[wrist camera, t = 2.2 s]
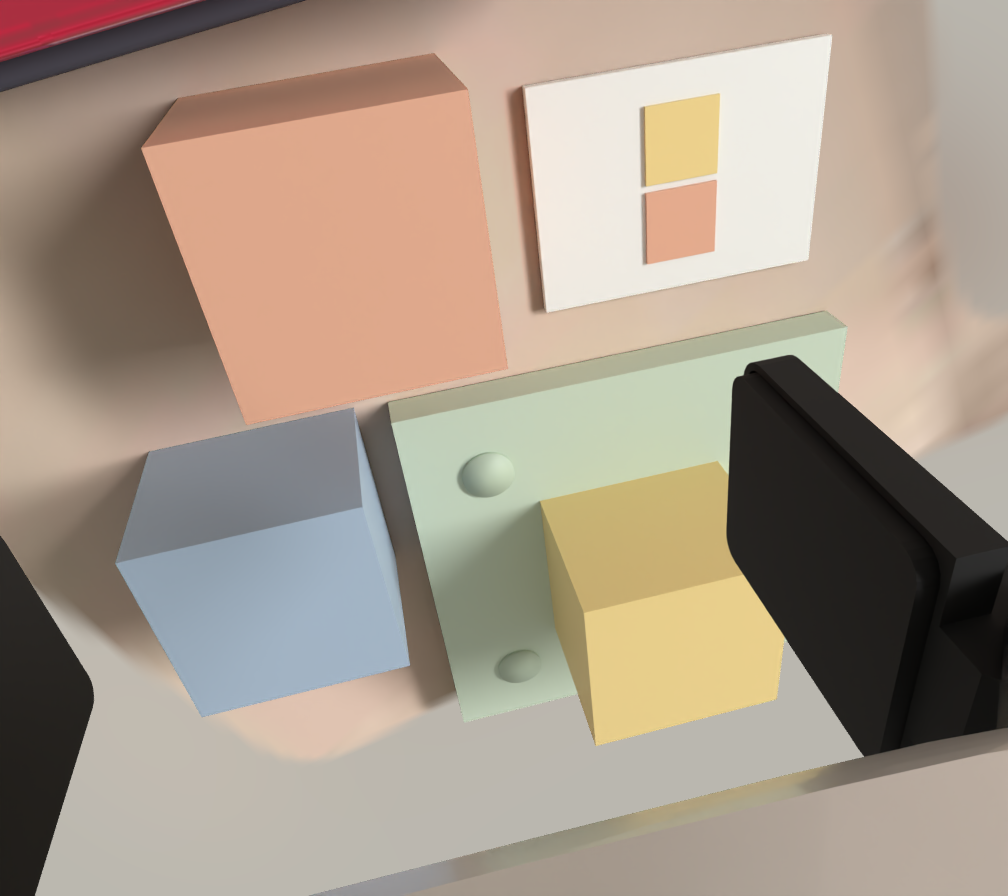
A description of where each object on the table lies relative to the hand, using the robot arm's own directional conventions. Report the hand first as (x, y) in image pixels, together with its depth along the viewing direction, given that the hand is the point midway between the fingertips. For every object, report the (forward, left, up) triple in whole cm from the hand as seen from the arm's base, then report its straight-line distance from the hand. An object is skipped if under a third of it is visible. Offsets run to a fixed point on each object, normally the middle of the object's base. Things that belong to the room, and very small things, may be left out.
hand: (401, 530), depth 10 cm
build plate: (+12, +7, -13) cm, 19 cm away
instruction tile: (0, +9, -13) cm, 15 cm away
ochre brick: (+12, +7, -11) cm, 18 cm away
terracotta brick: (-1, 0, -13) cm, 13 cm away
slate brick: (+8, -4, -13) cm, 16 cm away
